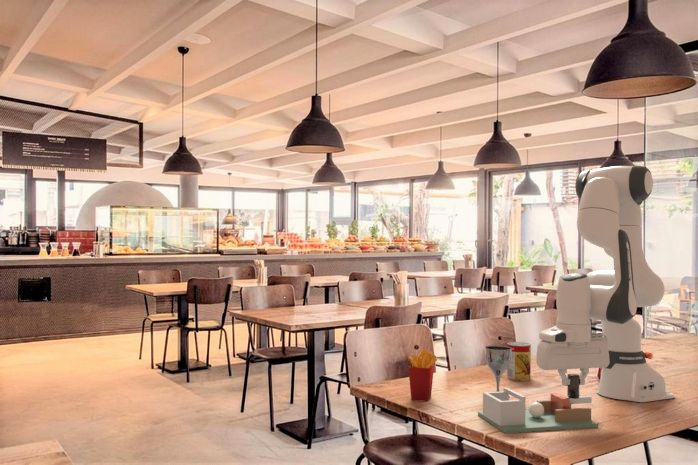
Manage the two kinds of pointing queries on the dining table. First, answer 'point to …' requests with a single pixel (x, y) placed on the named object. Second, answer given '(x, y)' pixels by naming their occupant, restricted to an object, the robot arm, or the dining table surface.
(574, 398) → the kicker
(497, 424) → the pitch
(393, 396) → the dining table surface
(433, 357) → the french fries
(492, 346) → the wine glass
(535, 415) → the ball
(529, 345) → the canned food
